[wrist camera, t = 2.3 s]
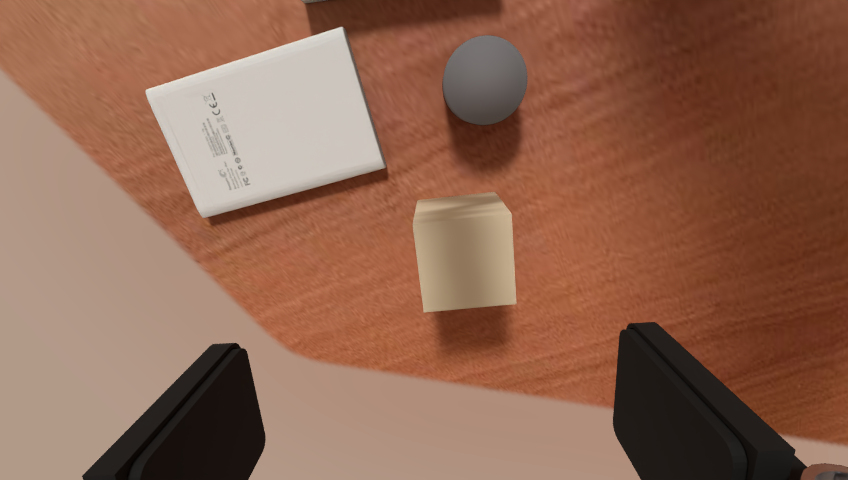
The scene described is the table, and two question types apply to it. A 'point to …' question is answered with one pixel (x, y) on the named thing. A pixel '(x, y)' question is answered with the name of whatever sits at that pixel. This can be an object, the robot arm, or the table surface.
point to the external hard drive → (269, 124)
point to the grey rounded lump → (484, 80)
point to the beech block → (464, 252)
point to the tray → (310, 0)
